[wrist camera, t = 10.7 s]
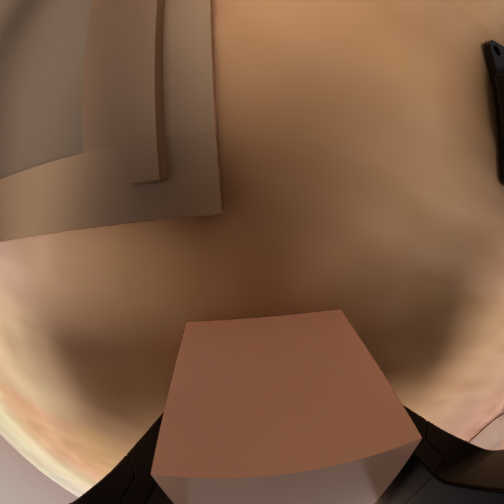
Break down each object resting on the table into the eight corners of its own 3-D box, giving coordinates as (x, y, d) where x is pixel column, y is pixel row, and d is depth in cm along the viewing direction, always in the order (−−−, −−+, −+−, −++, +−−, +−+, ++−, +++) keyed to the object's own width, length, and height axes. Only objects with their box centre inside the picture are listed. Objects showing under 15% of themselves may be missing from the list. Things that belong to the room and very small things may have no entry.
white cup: (458, 466, 17) (490, 523, 7) (443, 460, 15) (482, 534, 5) (512, 417, 15) (551, 470, 6) (509, 399, 14) (560, 465, 4)
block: (340, 308, 9) (422, 437, 4) (327, 407, 10) (363, 515, 5) (186, 321, 9) (150, 474, 4) (209, 419, 10) (203, 535, 5)
